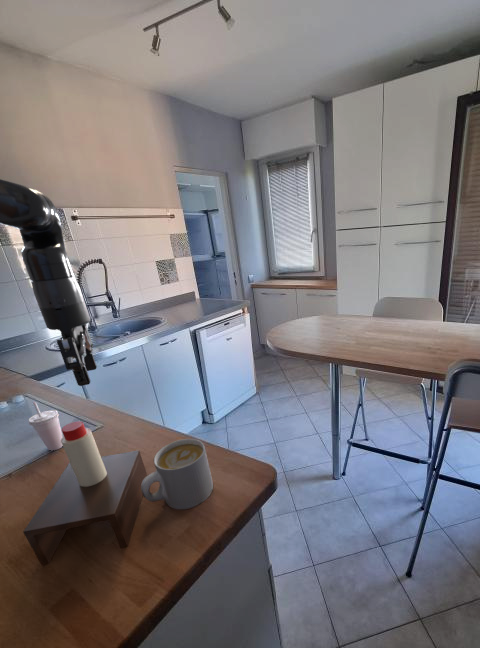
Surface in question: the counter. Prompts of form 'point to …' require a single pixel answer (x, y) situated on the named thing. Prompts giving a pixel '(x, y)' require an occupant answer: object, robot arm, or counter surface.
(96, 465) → the spice bottle
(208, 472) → the coffee mug
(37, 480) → the counter surface
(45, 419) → the smoothie
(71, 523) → the shelf
